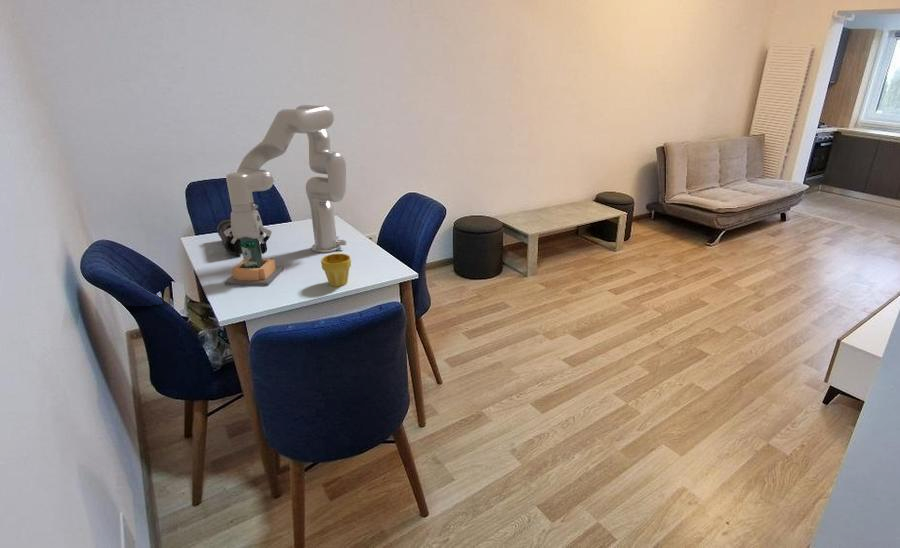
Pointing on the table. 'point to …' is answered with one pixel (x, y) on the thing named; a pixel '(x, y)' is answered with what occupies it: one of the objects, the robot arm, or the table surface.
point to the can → (251, 252)
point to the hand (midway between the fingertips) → (251, 252)
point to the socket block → (254, 274)
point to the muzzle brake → (227, 243)
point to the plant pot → (336, 268)
